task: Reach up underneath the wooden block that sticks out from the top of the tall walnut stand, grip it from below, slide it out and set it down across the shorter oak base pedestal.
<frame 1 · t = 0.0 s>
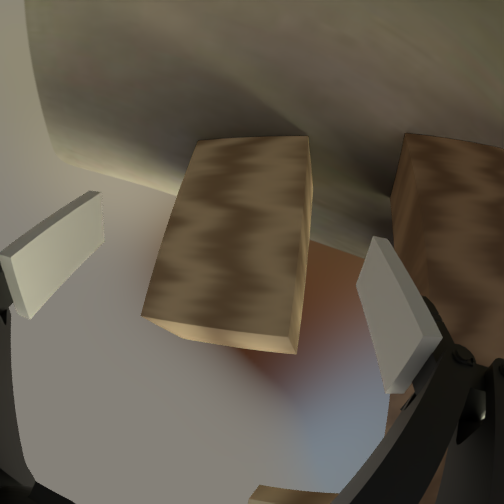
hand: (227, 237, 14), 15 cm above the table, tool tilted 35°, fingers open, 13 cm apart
stand: (472, 177, 25), on the table
wooden block: (421, 497, 14), point 30 cm above the table, touching stand
base pedestal: (258, 164, 31), on the table
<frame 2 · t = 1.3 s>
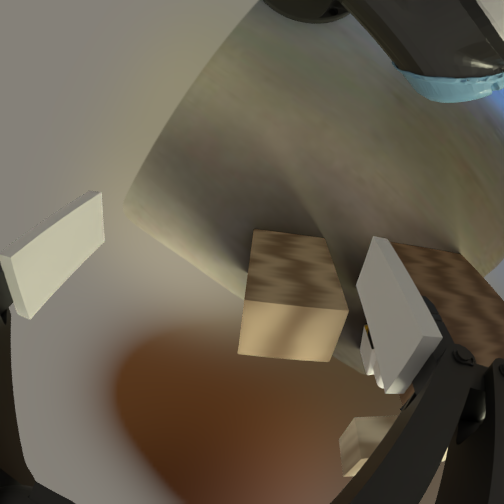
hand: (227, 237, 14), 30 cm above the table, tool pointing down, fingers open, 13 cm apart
stand: (414, 272, 49), on the table
medicine bottle: (378, 334, 56), on the table
wooden block: (458, 417, 22), point 30 cm above the table, touching stand
base pedestal: (285, 256, 49), on the table
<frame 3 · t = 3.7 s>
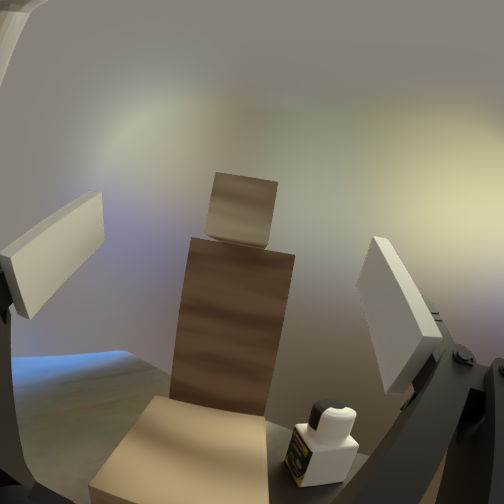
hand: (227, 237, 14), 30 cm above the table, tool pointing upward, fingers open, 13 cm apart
stand: (211, 452, 37), on the table
medicine bottle: (313, 472, 35), on the table
wooden block: (243, 247, 32), point 30 cm above the table, touching stand
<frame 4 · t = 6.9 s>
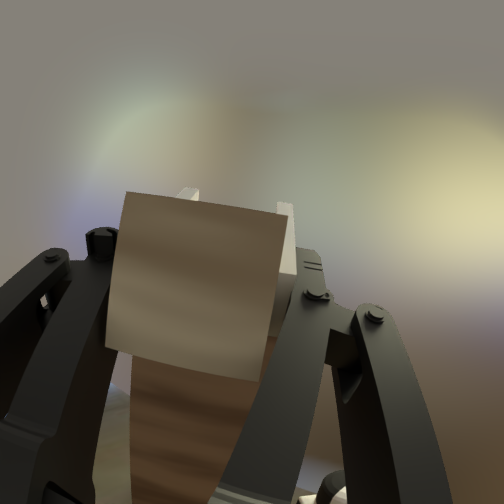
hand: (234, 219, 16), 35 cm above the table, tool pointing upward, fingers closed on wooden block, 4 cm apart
wooden block: (227, 299, 20), point 30 cm above the table, touching gripper, stand
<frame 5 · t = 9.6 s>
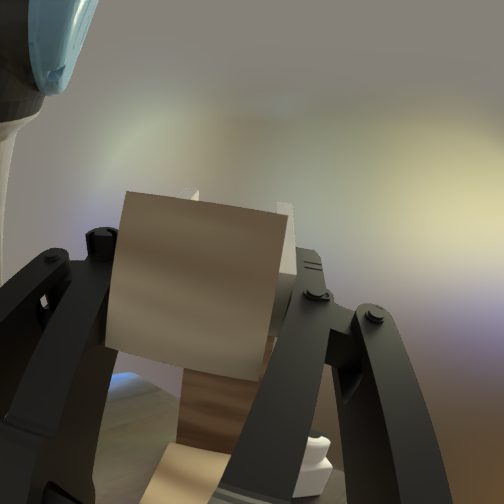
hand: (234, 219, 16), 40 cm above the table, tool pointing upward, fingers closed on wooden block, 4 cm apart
stand: (211, 468, 43), on the table
medicine bottle: (295, 486, 41), on the table
wooden block: (227, 299, 20), point 35 cm above the table, touching gripper
when the fingers open (25 cm above the table, at t = 12.5 s): wooden block drops 2 cm, resting on base pedestal.
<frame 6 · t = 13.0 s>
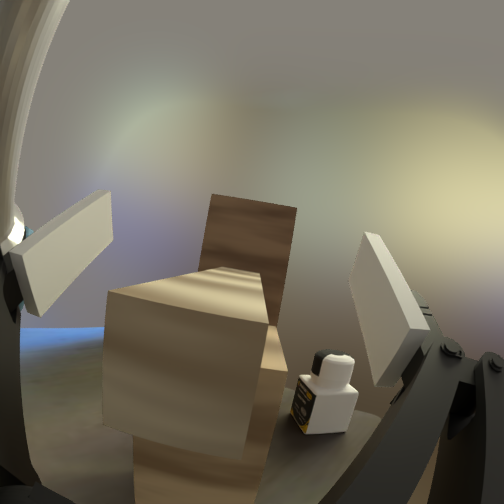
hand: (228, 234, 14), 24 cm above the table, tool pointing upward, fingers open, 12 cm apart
stand: (222, 405, 44), on the table
medicine bottle: (317, 423, 41), on the table
wooden block: (221, 335, 20), point 18 cm above the table, touching base pedestal
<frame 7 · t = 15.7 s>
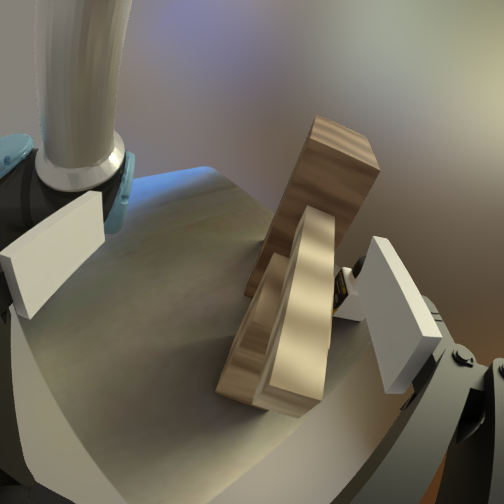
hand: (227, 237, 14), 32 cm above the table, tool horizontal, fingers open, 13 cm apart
stand: (278, 273, 62), on the table
medicine bottle: (343, 306, 60), on the table
wooden block: (298, 299, 32), point 18 cm above the table, touching base pedestal
base pedestal: (250, 371, 43), on the table
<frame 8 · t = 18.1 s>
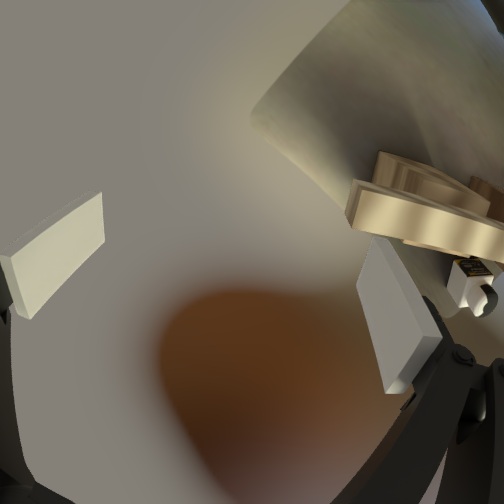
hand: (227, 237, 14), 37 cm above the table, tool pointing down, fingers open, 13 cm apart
stand: (494, 211, 46), on the table
medicine bottle: (462, 272, 54), on the table
wooden block: (446, 220, 31), point 18 cm above the table, touching base pedestal
base pedestal: (401, 180, 47), on the table
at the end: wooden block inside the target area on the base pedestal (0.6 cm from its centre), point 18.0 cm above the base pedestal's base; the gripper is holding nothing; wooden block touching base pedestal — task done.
